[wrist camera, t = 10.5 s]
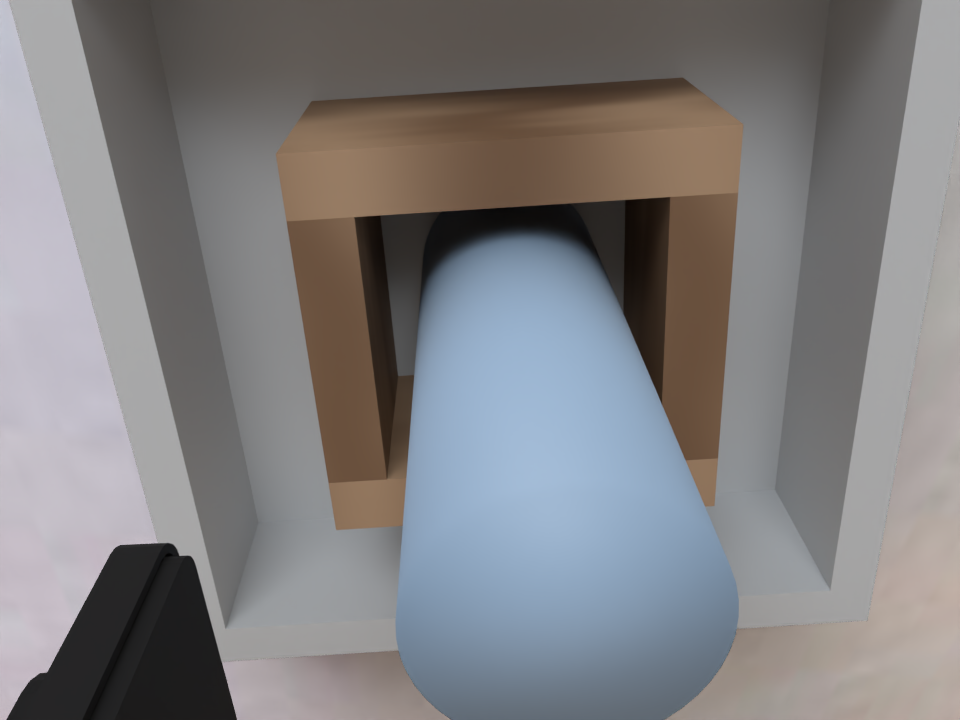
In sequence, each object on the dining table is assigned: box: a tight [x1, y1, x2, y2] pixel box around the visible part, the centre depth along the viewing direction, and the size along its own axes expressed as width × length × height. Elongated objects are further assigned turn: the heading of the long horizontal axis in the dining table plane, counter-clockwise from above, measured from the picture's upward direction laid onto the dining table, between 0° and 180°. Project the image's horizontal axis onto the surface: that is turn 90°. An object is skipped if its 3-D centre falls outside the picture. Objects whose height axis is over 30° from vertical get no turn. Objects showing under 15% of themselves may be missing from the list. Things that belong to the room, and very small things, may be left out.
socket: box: [276, 78, 743, 530], centre depth 19 cm, size 8×8×4 cm
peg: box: [395, 203, 739, 720], centre depth 16 cm, size 4×4×12 cm
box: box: [9, 0, 960, 662], centre depth 20 cm, size 16×16×5 cm
